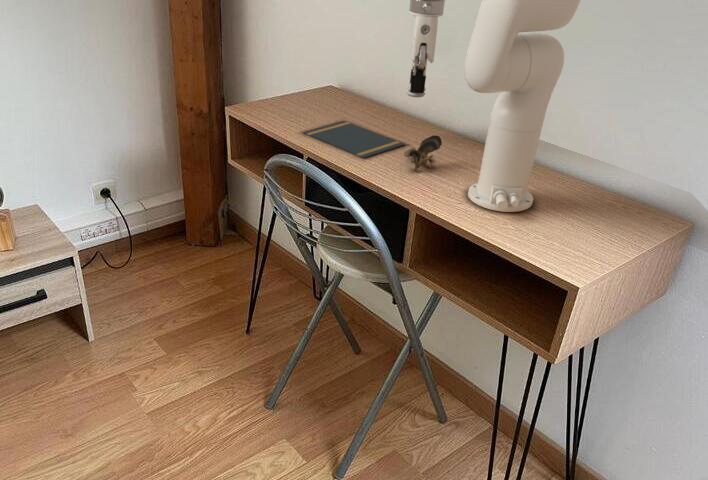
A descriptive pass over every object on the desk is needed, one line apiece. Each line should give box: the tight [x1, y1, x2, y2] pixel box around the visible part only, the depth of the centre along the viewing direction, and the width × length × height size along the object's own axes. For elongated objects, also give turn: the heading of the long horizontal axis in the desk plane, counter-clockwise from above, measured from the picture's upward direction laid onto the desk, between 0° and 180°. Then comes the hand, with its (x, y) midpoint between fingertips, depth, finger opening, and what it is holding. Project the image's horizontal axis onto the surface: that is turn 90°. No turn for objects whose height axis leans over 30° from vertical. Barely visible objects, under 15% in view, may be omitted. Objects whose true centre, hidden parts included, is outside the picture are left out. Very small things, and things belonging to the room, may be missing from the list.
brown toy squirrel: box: [403, 134, 443, 172], centre depth 141 cm, size 8×7×9 cm
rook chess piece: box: [406, 59, 426, 98], centre depth 150 cm, size 4×4×8 cm
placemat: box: [302, 120, 406, 159], centre depth 155 cm, size 21×14×1 cm, turn 41°
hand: (416, 88), depth 151 cm, fingers closed on rook chess piece, 4 cm apart
